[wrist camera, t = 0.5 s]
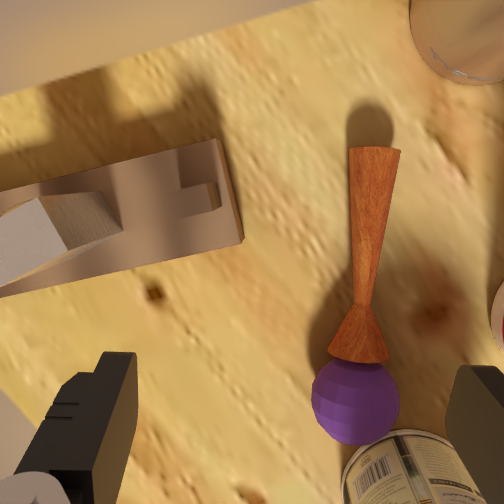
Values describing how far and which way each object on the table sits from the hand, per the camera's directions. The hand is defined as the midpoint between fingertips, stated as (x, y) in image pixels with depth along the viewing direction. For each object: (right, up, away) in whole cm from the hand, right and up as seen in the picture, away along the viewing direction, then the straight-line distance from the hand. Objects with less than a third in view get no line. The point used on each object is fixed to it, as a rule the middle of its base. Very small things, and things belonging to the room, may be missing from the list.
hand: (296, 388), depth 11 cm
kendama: (+7, +1, +23) cm, 23 cm away
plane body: (-12, +6, +23) cm, 26 cm away
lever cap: (-12, +5, +20) cm, 24 cm away
